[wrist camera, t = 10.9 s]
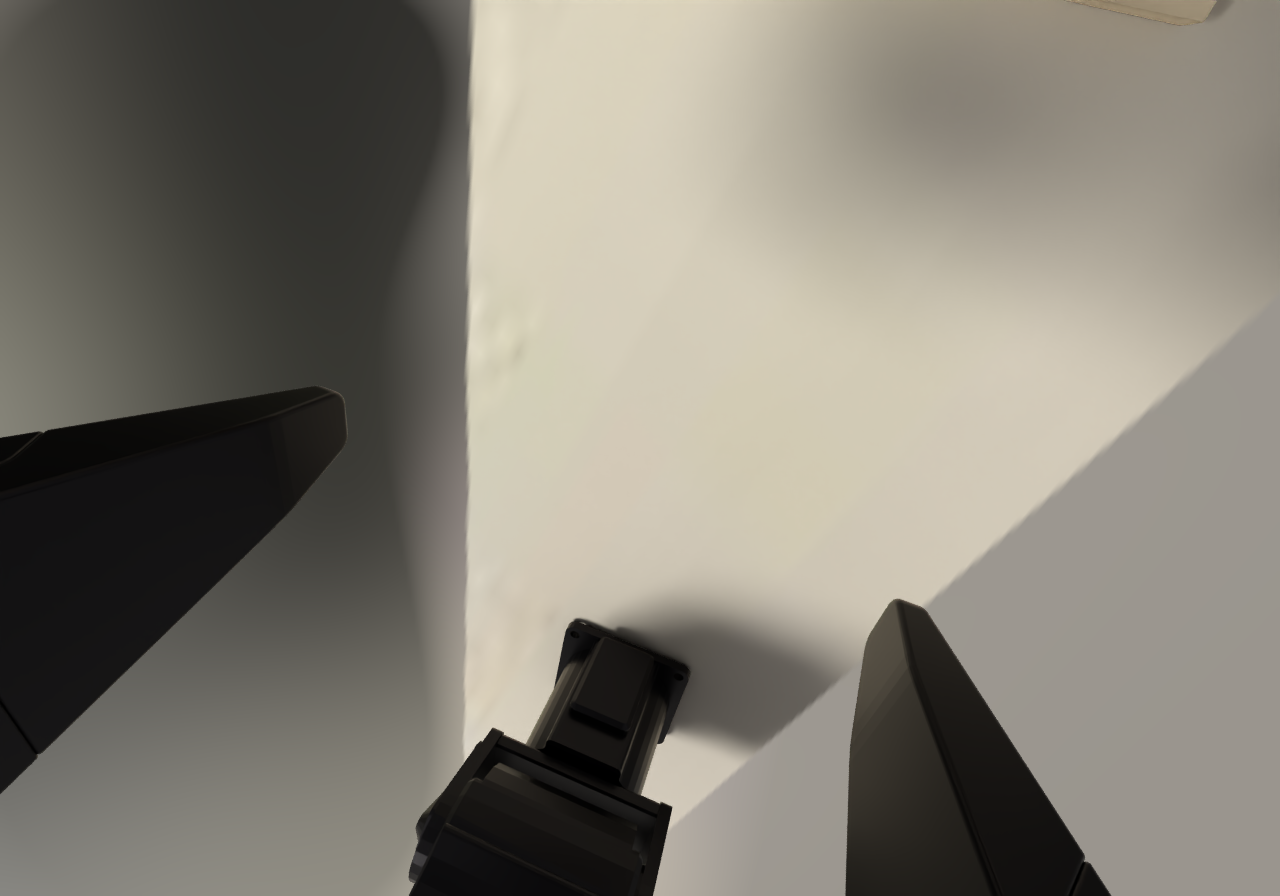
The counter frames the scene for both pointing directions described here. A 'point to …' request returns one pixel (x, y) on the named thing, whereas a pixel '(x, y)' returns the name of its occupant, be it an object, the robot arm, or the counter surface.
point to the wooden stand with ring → (1158, 9)
